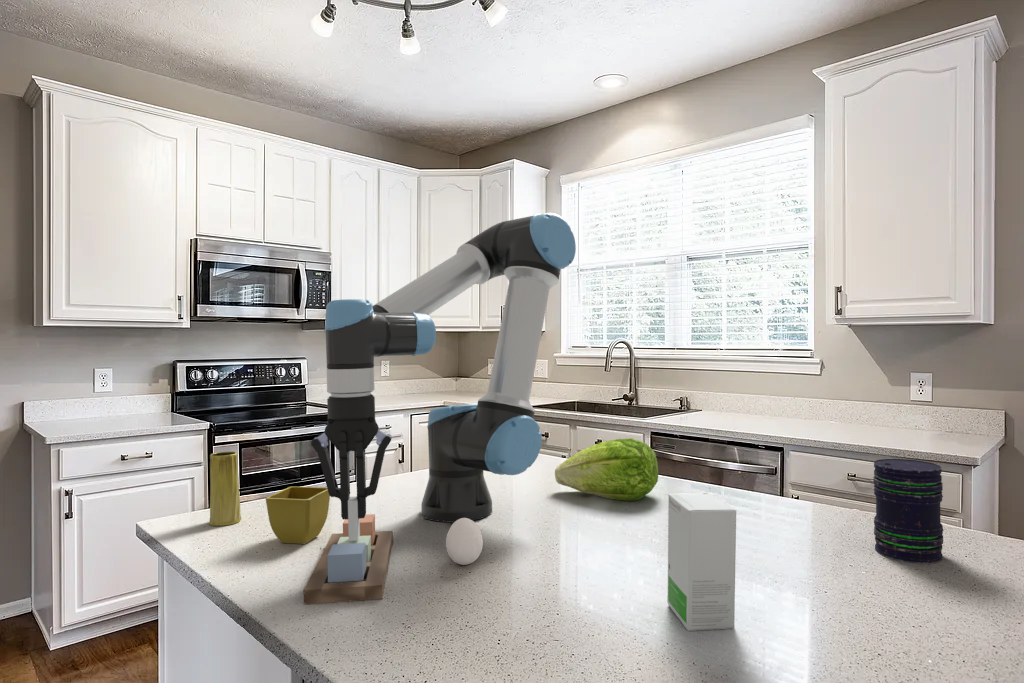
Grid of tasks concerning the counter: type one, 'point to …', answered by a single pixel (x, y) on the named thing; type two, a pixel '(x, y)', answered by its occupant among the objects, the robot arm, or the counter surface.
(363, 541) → the key sage
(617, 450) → the lettuce
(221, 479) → the vase
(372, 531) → the key rust
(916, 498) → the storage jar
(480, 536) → the egg
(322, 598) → the board
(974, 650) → the counter surface
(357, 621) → the counter surface
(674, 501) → the skincare box
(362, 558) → the key slate
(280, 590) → the counter surface
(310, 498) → the flower pot
